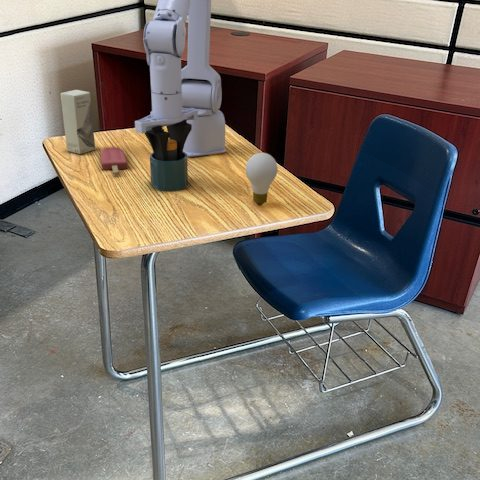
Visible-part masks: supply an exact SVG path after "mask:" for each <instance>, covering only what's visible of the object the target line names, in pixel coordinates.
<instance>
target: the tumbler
mask: <svg viewBox="0 0 480 480" xmlns="http://www.w3.org/2000/svg"><path fill="white" fill-rule="evenodd" d="M188 163H189V162H188V156H187V154H186V153H185V152H182V157H181V159H180V160H176V161H161V160H157V159H156V158H155V155H154V152H153V151H152V152H151V153H150V154H149V167H150V169H149V170H150V183H151V184H150V185H151V187H152V188H153V189H156V190H158V191H163V192H174V191H180V190H183V189H186V188H188V185H189V174H188V173H189V171H188V169H189V167H188V165H189V164H188Z"/></svg>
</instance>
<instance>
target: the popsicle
mask: <svg viewBox="0 0 480 480" xmlns="http://www.w3.org/2000/svg"><path fill="white" fill-rule="evenodd" d="M100 165H101V170H103V171H109V170H112V174H114V175H116V174H117V175H118V174H120V172H119V170H127V169H128V162H127V158H126V155H125V152H124V150H123V149H122V148H120V147H117V146H116V147H115V146H110V147H105V148H102V149H101V150H100Z"/></svg>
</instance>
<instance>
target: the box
mask: <svg viewBox="0 0 480 480" xmlns="http://www.w3.org/2000/svg"><path fill="white" fill-rule="evenodd" d="M91 98H92V97H91V92H90V91H87V90H86V91H85V90H81V89H73V90H68V91H65V92H60V102H61V110H62V112H61V113H62V119H63V128H64V137H65V146H66V152H67V151H68V152H69V153H74V154H78V155H82V154H86V153H89V152H92V151H94V150H96V142H95V141H96V140H95V132H94V121H93V111H92V100H91Z"/></svg>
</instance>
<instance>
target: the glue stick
mask: <svg viewBox="0 0 480 480" xmlns="http://www.w3.org/2000/svg"><path fill="white" fill-rule="evenodd" d="M176 160H177V141H175V140H172V139H168V144H167V161H176Z"/></svg>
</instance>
